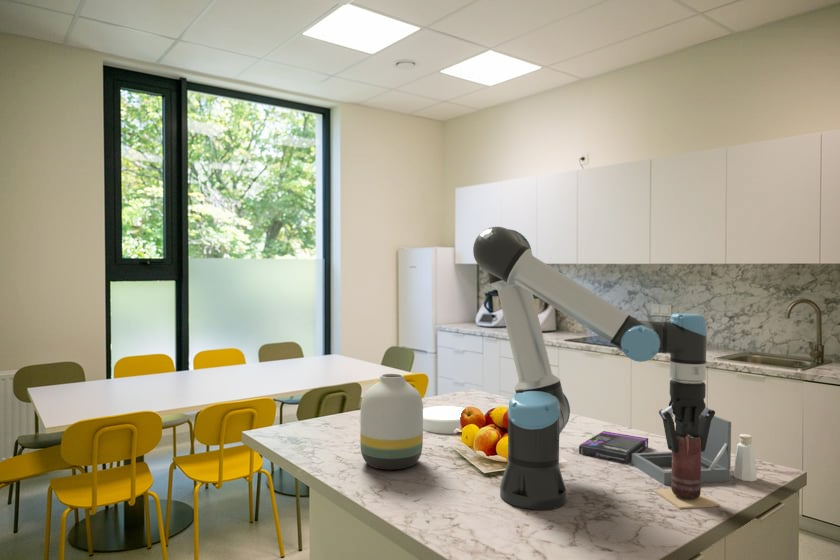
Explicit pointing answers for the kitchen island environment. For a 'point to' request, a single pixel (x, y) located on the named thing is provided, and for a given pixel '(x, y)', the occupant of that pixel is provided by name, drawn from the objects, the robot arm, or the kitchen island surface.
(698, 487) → the can
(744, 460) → the salt shaker
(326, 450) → the kitchen island surface
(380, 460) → the vase
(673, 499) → the mat
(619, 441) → the box
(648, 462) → the case
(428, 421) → the container
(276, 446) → the kitchen island surface
